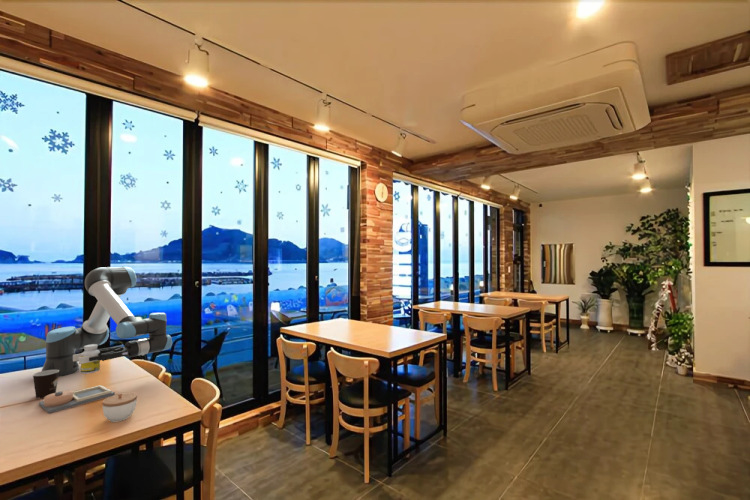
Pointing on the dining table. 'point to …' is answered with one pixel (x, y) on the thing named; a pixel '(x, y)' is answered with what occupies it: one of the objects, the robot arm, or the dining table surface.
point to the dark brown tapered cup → (45, 382)
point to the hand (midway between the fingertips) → (76, 359)
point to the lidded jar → (119, 406)
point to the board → (74, 398)
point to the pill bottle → (90, 366)
